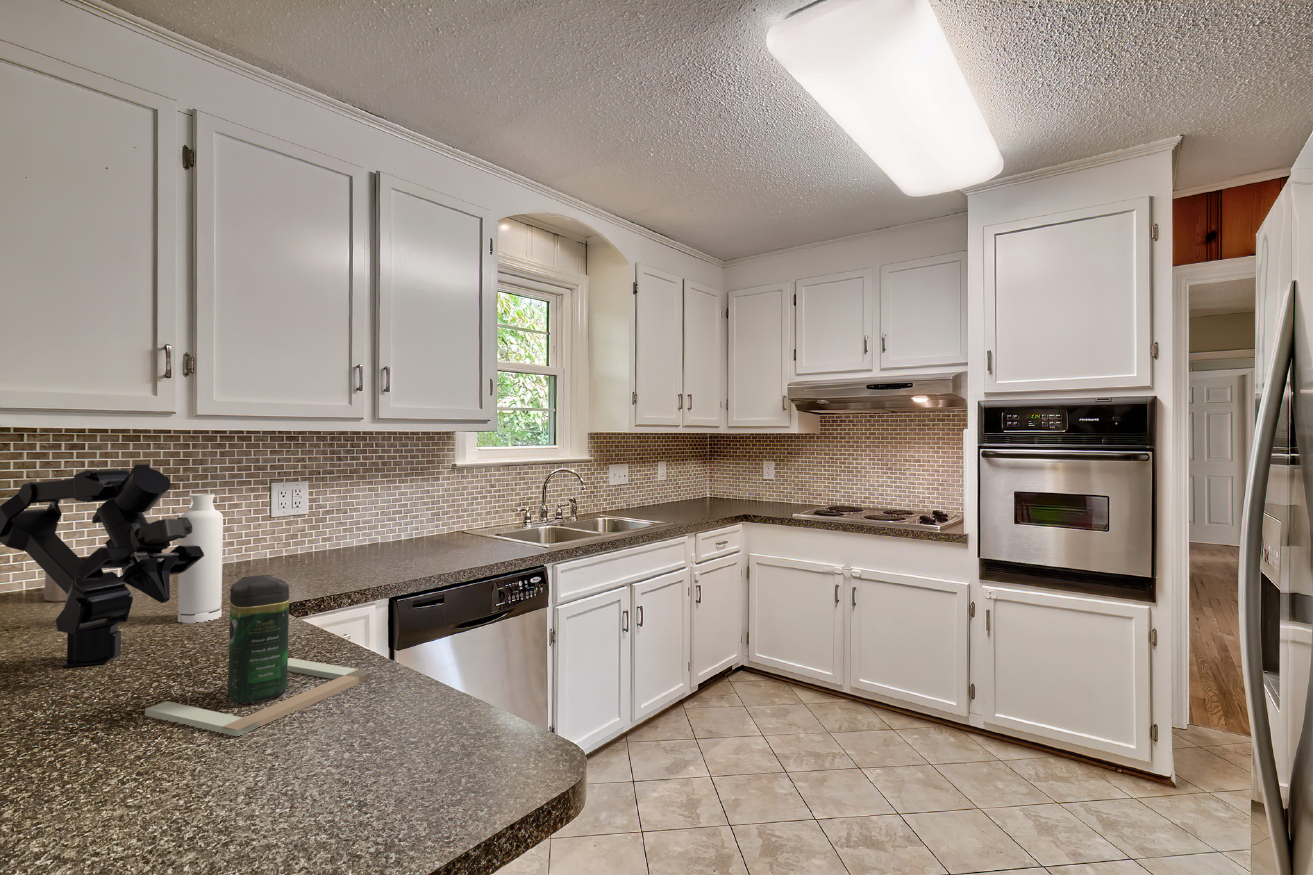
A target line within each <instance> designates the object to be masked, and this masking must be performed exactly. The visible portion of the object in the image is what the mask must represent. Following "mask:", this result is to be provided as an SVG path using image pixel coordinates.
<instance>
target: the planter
mask: <svg viewBox="0 0 1313 875" xmlns="http://www.w3.org/2000/svg"><path fill="white" fill-rule="evenodd" d="M89 556H90V555H88V556H78V557H79V558H80V559H81V560H82V561H84V560H85V559H86V558H87V557H89ZM44 573H45V574H44V594H43V595H44V600H46V601H47V602H49V601H52V602H51V603H63V602H62V601H66V598H67V594H66V593H65V591H64V590H63V589H62V588H61V587H60V586H59V585H58V584H57V583H56V582H55V581H54V580H53V579H52V578H51V577H50V576H49V575H48V574H47V573H46V572H45V571H44Z"/></svg>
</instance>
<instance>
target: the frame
mask: <svg viewBox="0 0 1313 875" xmlns="http://www.w3.org/2000/svg"><path fill="white" fill-rule="evenodd" d="M288 672H291V673H295V674H302V675H308V676H314V677H319V678H323V679H324V678H326V679H329V681H328V682H325V683H323V684H321V685H318V686H316V687H314V688H311V689H308V690H307V691H303V692H301V693H299V694H297V695H294V696H292V697H290V698H286V699H284V700H282V701H280V702H277V703H275V704H273V705H270V706H268V707H265V708H263V709H260V710H258V711H256V712H253V713H252V714H249V715H246V716H244V717H242V716H237V715H233V714H228V713H222V712H220V711H219V712H218V711H214V710H210V709H204V708H199V707H195V706H190V705H186V704H182V703H177V702H173V701H168V700H167V701H163V702H161V703H160V702H159V703H158V704H154V705H152V706H149V707H146V708H145V709H144V716H145V717H149V718H153V719H158V720H161V719H162V721H166V720H169V721H168V722H170V721H171V722H170V723H174V722H178V723H181V724H180V725H183V724H186V725H185V726H187V725H189V726H188V727H191V726H194V727H193V728H197V729H200V728H202V729H201V730H204V729H207V730H206V731H209V730H211V731H210V732H213V731H216V732H215V733H217V732H219V733H218V734H221V733H225V734H224V735H226V734H228V735H227V736H230V735H233V736H232V737H234V736H240V735H242V736H244V735H245V734H244V733H247V734H248V732H249V731H251V732H253V731H255V730H254V729H256V728H258V727H260V726H262V727H264V726H263V725H265V724H267V723H269V722H271V721H273V720H276V719H278V720H280V719H282V718H284V716H285V715H287V716H289V715H291V714H293V713H296V712H298V711H300V710H302V709H305V708H307V707H310V706H312V705H313V704H316V703H318V702H320V701H322V700H323V701H324V700H325V699H328V698H330V697H332V696H334V695H336V694H338V693H341V692H343V691H345V690H347V689H349V688H352V687H355V686H356V685H359V684H361V683H364V682H365V681H368V680H369V679H372V678H373V671H370V670H365V669H360V668H353V667H347V666H341V665H333V664H328V663H323V662H317V661H310V660H305V659H304V660H303V659H298V658H292V657H289V658H288ZM295 711H296V712H295ZM290 713H291V714H290ZM281 717H282V718H281ZM285 717H286V716H285ZM279 718H280V719H279ZM276 721H277V720H276ZM273 722H274V721H273ZM178 723H177V724H178ZM271 723H272V722H271ZM269 724H270V723H269ZM267 725H268V724H267ZM265 726H266V725H265ZM260 728H261V727H260ZM258 729H259V728H258ZM252 730H253V731H252ZM256 730H257V729H256ZM249 733H250V732H249ZM243 734H244V735H243ZM240 737H241V736H240Z"/></svg>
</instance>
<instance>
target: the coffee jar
mask: <svg viewBox="0 0 1313 875" xmlns="http://www.w3.org/2000/svg"><path fill="white" fill-rule="evenodd" d="M289 586H290V585H289V584H288V583H287V582H286V581H284V580H283V579H280V578H277V577H275V576H272V575H271V574H262V575H261V574H260V575H259V574H257V575H251V576H243V577H241V579H239V580H237V581H236V582H235V583H233V584H232V585H231V587H230V589H229V592H230V594H229V596H230V597H229V640H228V641H229V643H228V674H227V675H228V676H227V677H228V679H227V693H228V695H229V696H228V697H230V699H231V700H232V701H233V702H235V703H236V704H242V703H261V702H266V701H269V700H271V699H273V698H275V697H278V696H281V695H283V694H285V693H286V691H287V689H288V676H289V675H288V674H289V673H288V672H289V671H288V656H289V625H290V623H289V622H290V618H289V617H290V587H289Z"/></svg>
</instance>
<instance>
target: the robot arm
mask: <svg viewBox="0 0 1313 875" xmlns="http://www.w3.org/2000/svg"><path fill="white" fill-rule="evenodd" d="M170 488H171V480H170V479H169V477H168V476H166V475H164V473H162V472H161V471H159V470H157V469H153V468H151V467H150V465H149V464H148V463H146V464H145V463H144V464H143V463H141V464H135V465H134V466H133V468H132V469H131V471H130V470H128V469H127V468H115V469H113V468H111V469H86V470H82V471H80V472H78V473H76V474H75V473H74V475H73V477H72V478H64V479H58V480H57V479H55V480H48V481H47V480H46V481H29V482H27V483H23V484H22V485H21V486H20V489H19V490H18V492H17V494H15V495H13V497H11V498H9V499H8V500H7V501H4V503H2V504H1V505H0V544H2V545H3V546H5V547H7V548H10V549H13V550H19V551H22V552H26V553H27V554H28V555H29V556H30V558H31V559H32V560H33V561H35V563H36V564H38V566H39V567H40V568H41V569H42V570H43V571H44V573H45V572H46V573H47V574H48V575H49V576H50V577H51V578H52V579H53V580H54V581H55V582H56V583H57V584H58V585H59V586H60V587H61V588H62V589H63V590H64V591H65V593H66V594H67V598H66V602H64V608H62V611H61V612H60V613H59V614H58V616H57V617H56V618H55V624H56V629H57V632H58V633H59V632H60V633H65V634H66V633H67V635H66V636H67V637H66V638H67V639H66V640H67V644H66V649H67V650H66V661H65V662H64V663H62V664H61V668H70V667H81V666H82V667H83V666H92V665H93V666H95V665H104V664H108V663H109V662H111V661H112V660H114V659H115V658H117V657H118V656H119V655H120V654H122V648H121V646H122V631H121V630H118V629H119V624H121V623H126V622H128V619H129V615H130V611H131V609H132V605H133V600H134V599H133V594H132V591H130V589H129V588H128V587H127V586H126V585H128V586H131V587H132V588H134V589H136V590H139V591H140V592H142V593H143V594H145V595H147V596H149V598H152V599H154V600H156V601H157V602H158V603H161V604H164V603H167V602H168V601H170V599H171V594H170V593H171V591H170V589H171V588H170V586H171V585H170V584H171V583H170V576H171V575H179V574H180V573H183V572H185V571H186V570H187V569H188V568H190V567H191V566H192V565H193V564H195V563H196V562H197V561H198V560H200V559H201V558H202V557H203V556H204V553H203V551H202V549H201V547H200V546H196V545H180V546H179V545H177V546H176V547H175V548H173V549H172V550H171V551H169V552H163V550H166V549H168V548H169V547H170V546H171V542H173V541H177V540H179V538H185V537H187V535H188V534H190V533H191V532H192V524H191V522H190V521H189V520H188V518H187V517H181V516H180V517H179V516H178V517H177V519H176V518H175V519H174V518H163V519H159V520H155V521H152V522H150V523H149V522H148V520H147V518H146V516H145V514H144V513H146V512H148V511H150V510H152V509H153V508H154V506H155V505H156V504H157V503H158V502H159V501H160V500H161V499H162V497H163V496H164V495H165V494H166V493H167V492H168V491H169V490H170ZM71 499H73V500H75V501H77V502H83V503H97V502H99V503H100V502H103V503H102V504H101V505H100V506H99V507H97V508H96V511H95V513H94V515H93V516H92V520H91V522H92V524H102V526H103V527H104V529H105V531H106V534H107V537H109V539H108V540H107V541H105V542H104V544H105V546H104V547H103V546H102V547H99V548H97V549H96V550H95V551H93V552H92V553H90V555H88V556H89V557H87V556H86V557H87V558H86V559H85V560H84V561H82V560H81V559H80V558H79V557H80V556H78V555H77V554H76V552H74V551H73V550H72V549H71V548H70V547H69V546H68V545H67V544H66V543H65V542H64V541H63V540H62V539H61V538H60V537H59V536H58V535H57V533H56V532H57V529H58V525H59V521H60V519H61V517H62V516H63V515H62V511H61V508H60V505H59V503H60V501H61V500H62V501H63V500H71ZM40 503H49V505H48V506H47V508H39V509H36V508H35V509H28V508H29V507H30V506H31V504H40ZM103 569H107V570H109V569H113V570H114V569H121V572H122V573H121V575H120V576H118V574H117V573H115V572H113V571H109V572H108V571H107V572H104V570H103Z"/></svg>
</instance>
